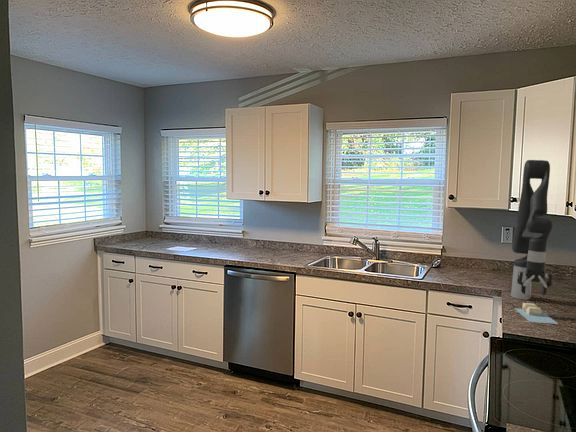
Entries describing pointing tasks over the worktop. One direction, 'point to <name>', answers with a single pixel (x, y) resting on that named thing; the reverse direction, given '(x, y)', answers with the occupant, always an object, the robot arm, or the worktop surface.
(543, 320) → the mat
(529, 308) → the cream notched block
